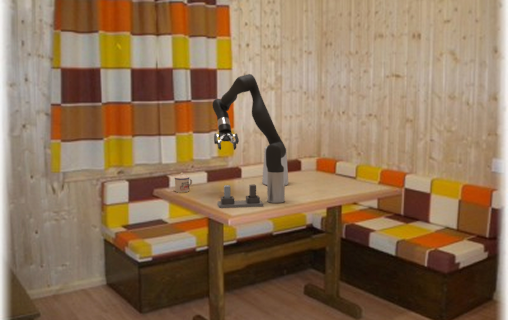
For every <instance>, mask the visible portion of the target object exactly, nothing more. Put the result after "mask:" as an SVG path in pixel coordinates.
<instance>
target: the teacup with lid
mask: <svg viewBox="0 0 508 320" xmlns="http://www.w3.org/2000/svg"><path fill="white" fill-rule="evenodd" d="M192 184H193V180H192V178H190V176H189V175H186V174H185V173H184V172H180V174H177V175H176V176H175V177H174V187H175V188H174V190H175V192H176V193H178V192H185V193H188V191H189V192H190V187H191V186H192Z"/></svg>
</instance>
